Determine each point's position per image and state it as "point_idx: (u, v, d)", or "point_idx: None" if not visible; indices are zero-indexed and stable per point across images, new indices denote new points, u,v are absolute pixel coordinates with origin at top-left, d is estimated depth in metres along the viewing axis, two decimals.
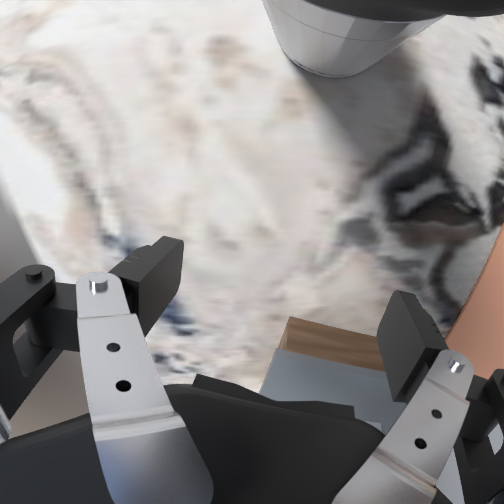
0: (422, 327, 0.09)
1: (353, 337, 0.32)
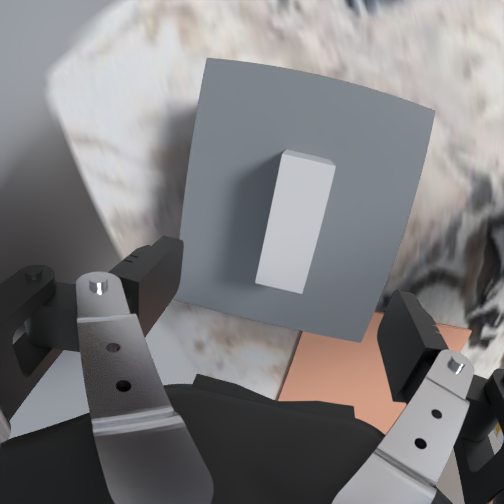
0: (422, 327, 0.09)
1: None
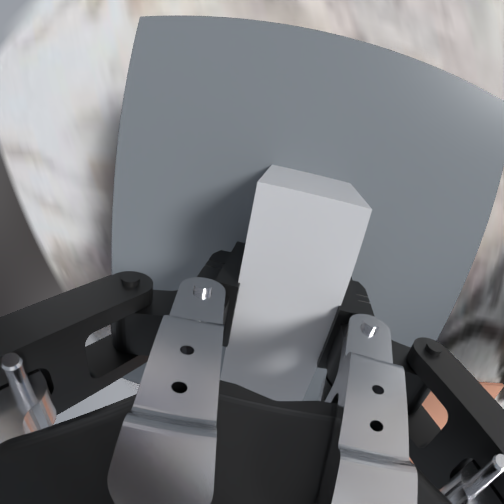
0: None
1: None
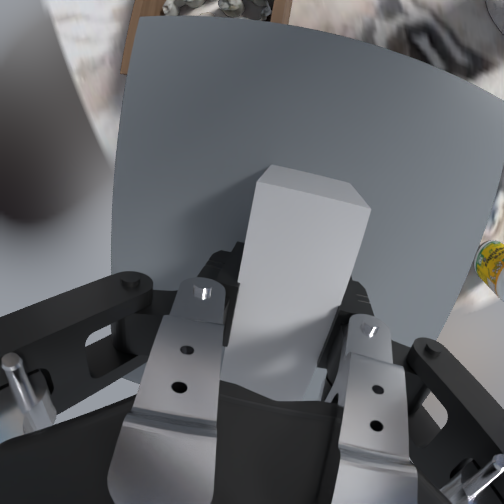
0: (344, 294, 0.10)
1: (290, 5, 0.26)
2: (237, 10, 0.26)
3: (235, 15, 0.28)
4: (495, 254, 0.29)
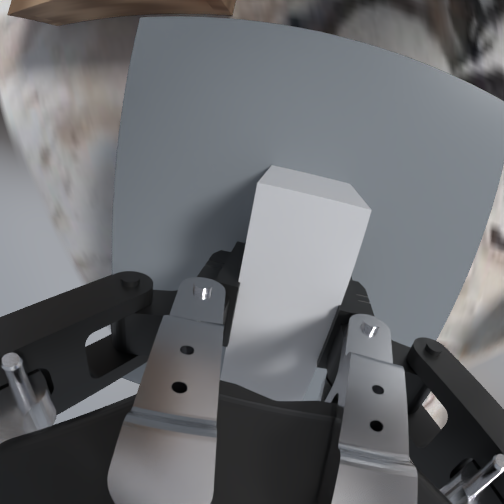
0: None
1: None
2: None
3: None
4: None
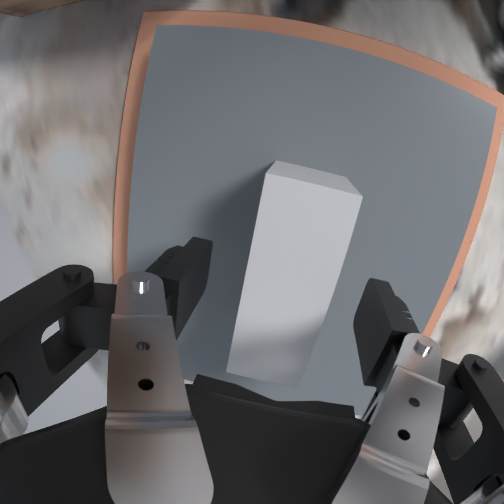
0: (391, 312, 0.09)
1: None
2: None
3: None
4: None
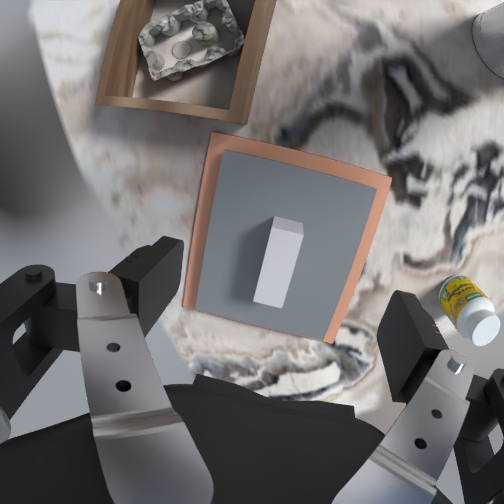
0: (422, 327, 0.09)
1: (265, 36, 0.28)
2: (211, 39, 0.28)
3: (210, 44, 0.29)
4: (459, 290, 0.32)
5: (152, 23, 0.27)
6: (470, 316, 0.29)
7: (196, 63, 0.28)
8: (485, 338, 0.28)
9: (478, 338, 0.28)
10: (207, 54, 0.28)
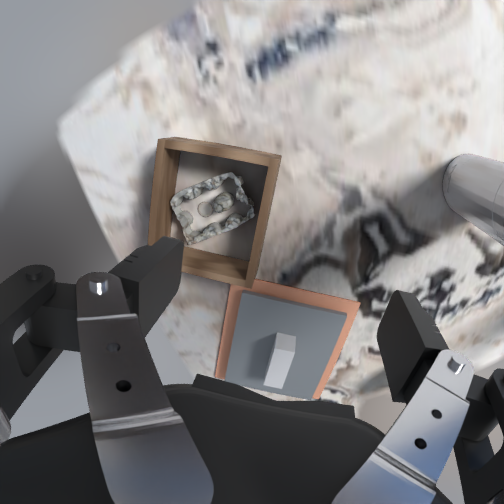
0: (422, 327, 0.09)
1: (270, 207, 0.44)
2: (228, 209, 0.44)
3: None
4: None
5: (180, 193, 0.43)
6: None
7: (219, 231, 0.44)
8: None
9: None
10: (227, 222, 0.44)
